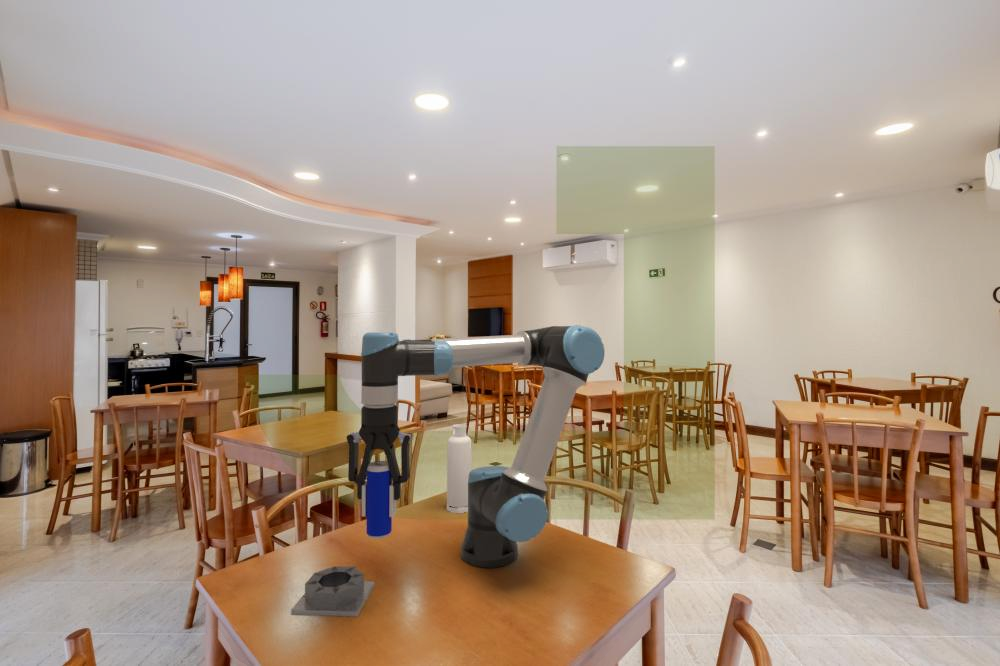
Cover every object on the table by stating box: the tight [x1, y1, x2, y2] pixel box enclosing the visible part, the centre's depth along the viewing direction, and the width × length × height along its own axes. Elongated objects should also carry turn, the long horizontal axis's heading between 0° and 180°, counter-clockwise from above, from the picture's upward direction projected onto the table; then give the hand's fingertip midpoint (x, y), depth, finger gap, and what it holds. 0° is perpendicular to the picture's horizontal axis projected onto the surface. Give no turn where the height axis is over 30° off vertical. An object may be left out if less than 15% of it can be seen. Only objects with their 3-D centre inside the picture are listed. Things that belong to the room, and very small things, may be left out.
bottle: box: [446, 423, 472, 514], centre depth 160 cm, size 8×8×28 cm
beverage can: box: [366, 460, 393, 540], centre depth 101 cm, size 5×5×15 cm
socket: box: [290, 565, 375, 617], centre depth 106 cm, size 14×12×4 cm
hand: (379, 514), depth 101 cm, fingers closed on beverage can, 5 cm apart
